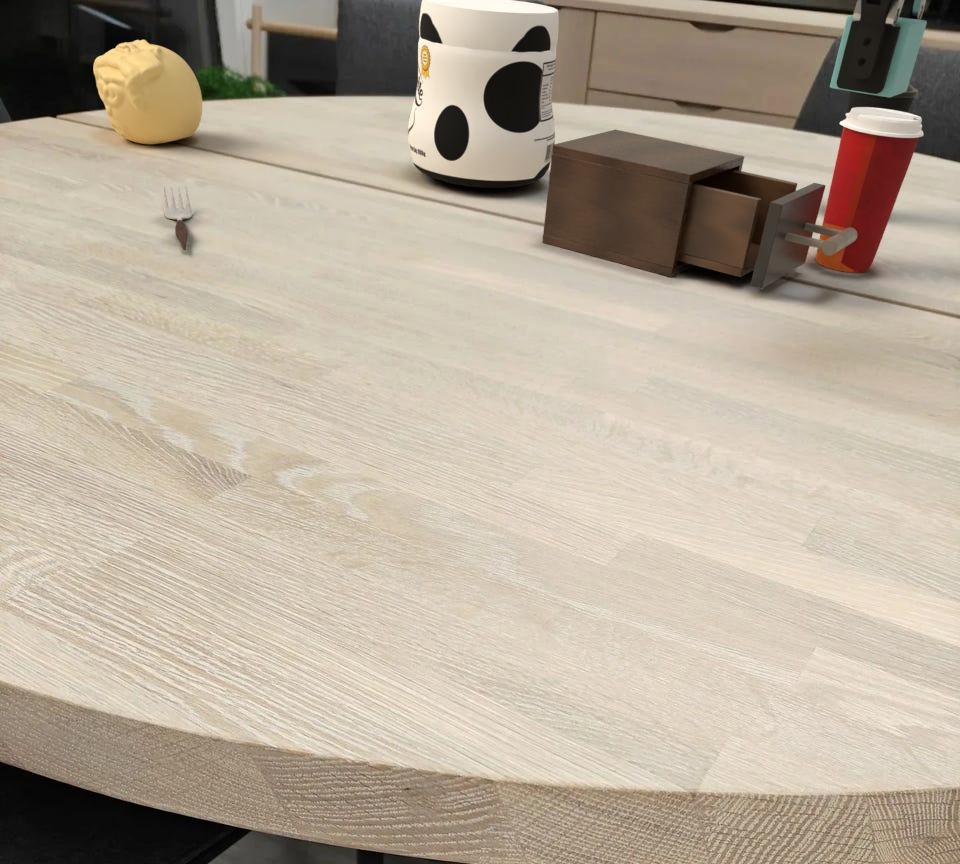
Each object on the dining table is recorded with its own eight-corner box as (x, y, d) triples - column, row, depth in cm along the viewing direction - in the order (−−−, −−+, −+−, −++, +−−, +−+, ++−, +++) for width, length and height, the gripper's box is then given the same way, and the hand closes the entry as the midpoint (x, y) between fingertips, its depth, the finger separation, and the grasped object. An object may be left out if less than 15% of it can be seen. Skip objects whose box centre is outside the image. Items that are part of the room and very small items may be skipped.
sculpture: (88, 133, 124) (73, 33, 117) (176, 127, 131) (166, 31, 124) (132, 153, 118) (118, 48, 111) (222, 145, 124) (214, 45, 118)
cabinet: (724, 251, 103) (744, 156, 98) (671, 277, 95) (690, 174, 89) (602, 220, 110) (615, 129, 104) (542, 242, 101) (552, 144, 95)
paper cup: (884, 262, 105) (931, 114, 96) (875, 281, 99) (924, 125, 90) (810, 247, 107) (849, 102, 98) (797, 265, 101) (837, 112, 93)
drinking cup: (813, 215, 119) (865, 19, 106) (817, 201, 124) (867, 13, 112) (879, 225, 117) (940, 27, 105) (880, 210, 123) (937, 22, 111)
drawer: (853, 275, 97) (876, 195, 92) (813, 302, 89) (837, 217, 85) (682, 233, 104) (696, 157, 100) (632, 254, 97) (645, 174, 92)
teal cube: (847, 82, 74) (865, 12, 71) (906, 91, 72) (927, 20, 69) (828, 87, 71) (847, 15, 68) (890, 97, 69) (911, 23, 66)
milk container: (388, 163, 124) (391, -9, 113) (516, 162, 129) (531, -2, 118) (434, 200, 111) (442, 10, 100) (573, 197, 117) (595, 17, 106)
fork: (170, 255, 89) (167, 232, 88) (163, 207, 101) (161, 186, 100) (200, 255, 90) (198, 232, 88) (190, 207, 102) (188, 186, 100)
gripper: (999, -274, 53) (889, 108, 64) (1049, -234, 64) (949, 84, 76) (860, -276, 56) (778, 90, 67) (932, -237, 68) (852, 69, 79)
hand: (869, 84), depth 71 cm, fingers closed on teal cube, 4 cm apart
